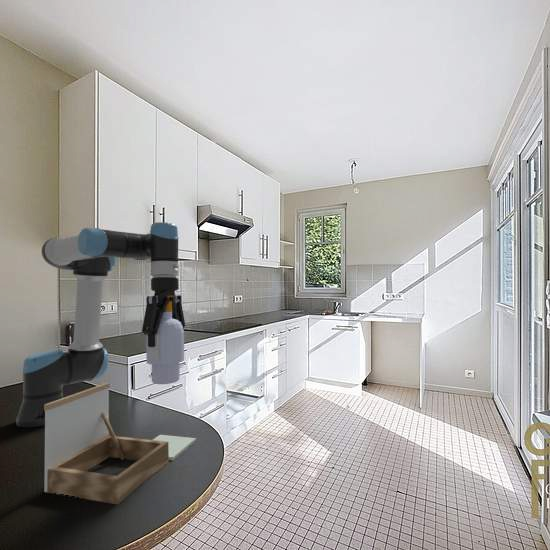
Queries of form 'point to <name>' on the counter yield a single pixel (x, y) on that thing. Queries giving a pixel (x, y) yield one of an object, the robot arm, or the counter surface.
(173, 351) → the soap bottle
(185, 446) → the trivet
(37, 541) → the counter surface
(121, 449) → the frame
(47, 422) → the lid
